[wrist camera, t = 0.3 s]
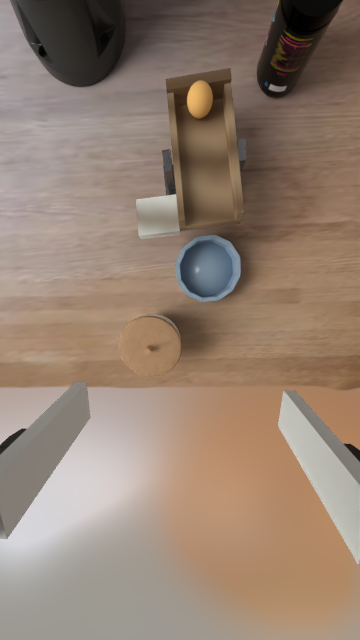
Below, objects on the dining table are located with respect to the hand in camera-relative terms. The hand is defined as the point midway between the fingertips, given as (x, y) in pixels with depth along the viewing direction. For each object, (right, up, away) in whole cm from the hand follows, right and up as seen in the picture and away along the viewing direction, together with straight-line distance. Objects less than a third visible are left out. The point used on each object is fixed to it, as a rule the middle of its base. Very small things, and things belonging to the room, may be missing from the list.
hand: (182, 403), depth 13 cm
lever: (0, +27, +14) cm, 30 cm away
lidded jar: (-5, +3, +28) cm, 28 cm away
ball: (+2, +33, +12) cm, 35 cm away
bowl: (+5, +15, +24) cm, 29 cm away
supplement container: (+15, +44, +17) cm, 49 cm away
